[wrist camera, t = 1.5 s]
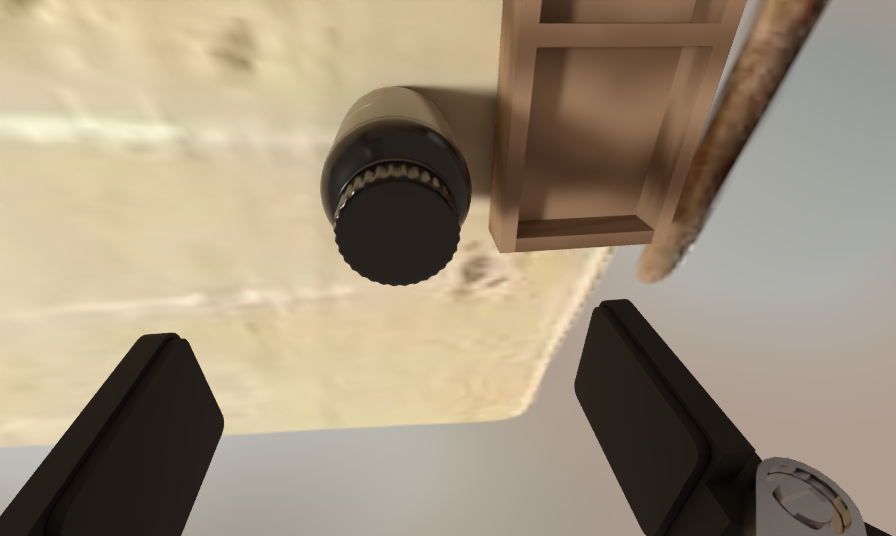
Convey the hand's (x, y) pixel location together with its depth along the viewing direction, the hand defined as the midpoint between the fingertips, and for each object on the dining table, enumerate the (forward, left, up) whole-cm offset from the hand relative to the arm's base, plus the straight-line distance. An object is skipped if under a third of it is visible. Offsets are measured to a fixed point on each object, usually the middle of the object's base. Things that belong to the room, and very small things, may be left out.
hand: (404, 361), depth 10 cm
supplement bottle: (0, 0, -19) cm, 19 cm away
